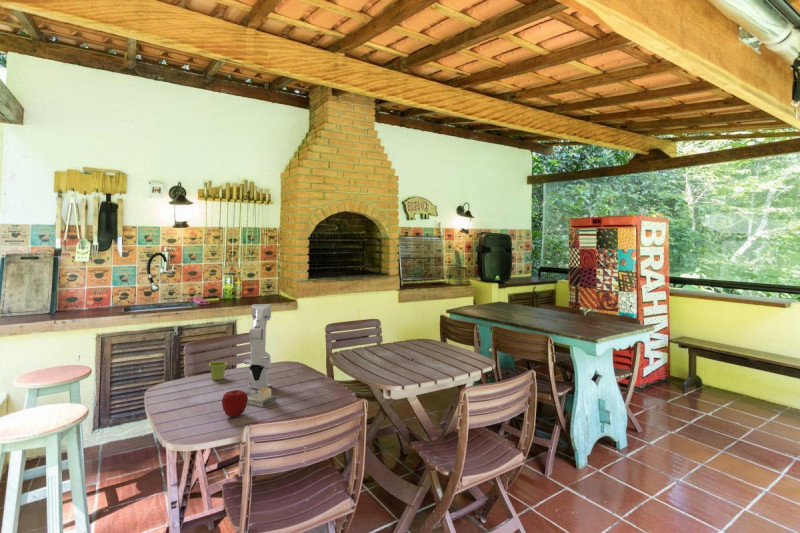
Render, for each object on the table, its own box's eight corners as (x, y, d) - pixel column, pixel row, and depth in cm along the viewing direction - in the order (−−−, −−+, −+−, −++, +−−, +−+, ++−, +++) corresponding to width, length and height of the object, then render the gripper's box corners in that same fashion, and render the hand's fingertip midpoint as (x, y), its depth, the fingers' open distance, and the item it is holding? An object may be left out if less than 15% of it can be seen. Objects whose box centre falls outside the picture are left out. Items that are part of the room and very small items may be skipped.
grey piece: (239, 402, 200) (239, 396, 200) (251, 397, 208) (251, 391, 207) (264, 407, 194) (264, 401, 194) (275, 402, 202) (275, 395, 201)
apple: (239, 422, 178) (239, 394, 178) (216, 419, 180) (216, 393, 179) (252, 412, 189) (252, 386, 188) (230, 410, 191) (230, 385, 190)
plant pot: (215, 376, 241) (214, 361, 241) (230, 376, 240) (230, 361, 239) (205, 381, 232) (205, 365, 231) (221, 382, 230) (221, 366, 230)
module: (258, 403, 198) (258, 390, 198) (264, 400, 202) (264, 387, 202) (264, 404, 197) (264, 391, 196) (271, 401, 201) (271, 388, 200)
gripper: (239, 352, 202) (239, 380, 203) (262, 356, 196) (262, 384, 197) (249, 349, 208) (249, 376, 209) (272, 352, 203) (272, 380, 203)
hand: (256, 380), depth 203 cm, fingers closed
